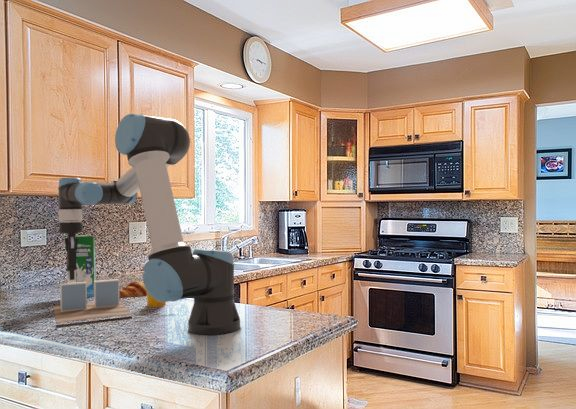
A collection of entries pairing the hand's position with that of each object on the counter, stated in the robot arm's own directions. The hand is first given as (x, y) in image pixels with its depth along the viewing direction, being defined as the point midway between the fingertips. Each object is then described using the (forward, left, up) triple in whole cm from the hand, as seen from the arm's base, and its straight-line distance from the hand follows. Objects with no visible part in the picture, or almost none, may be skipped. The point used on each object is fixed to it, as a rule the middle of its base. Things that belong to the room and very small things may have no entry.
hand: (71, 288), depth 168 cm
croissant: (+10, -25, -8) cm, 28 cm away
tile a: (-8, 0, -6) cm, 10 cm away
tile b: (-8, -11, -6) cm, 14 cm away
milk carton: (+19, -5, -8) cm, 21 cm away
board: (-12, -5, -7) cm, 15 cm away
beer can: (-15, -26, -8) cm, 31 cm away
